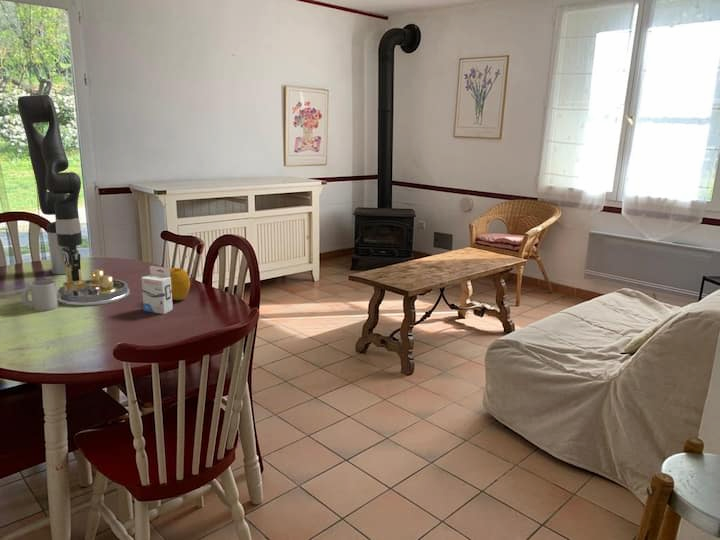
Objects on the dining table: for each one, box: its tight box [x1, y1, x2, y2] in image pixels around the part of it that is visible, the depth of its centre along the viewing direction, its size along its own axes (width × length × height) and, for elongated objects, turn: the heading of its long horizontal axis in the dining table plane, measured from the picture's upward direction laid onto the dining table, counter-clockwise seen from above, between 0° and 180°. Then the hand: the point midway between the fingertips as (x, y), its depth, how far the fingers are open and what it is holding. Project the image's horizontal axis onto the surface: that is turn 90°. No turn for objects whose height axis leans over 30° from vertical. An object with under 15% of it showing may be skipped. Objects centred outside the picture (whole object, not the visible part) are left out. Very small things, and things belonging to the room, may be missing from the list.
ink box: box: [140, 265, 174, 315], centre depth 183 cm, size 8×5×15 cm, turn 73°
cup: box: [21, 279, 59, 312], centre depth 182 cm, size 7×10×9 cm
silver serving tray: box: [57, 269, 131, 307], centre depth 197 cm, size 24×24×8 cm
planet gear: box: [62, 264, 86, 291], centre depth 192 cm, size 7×7×8 cm
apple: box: [169, 267, 191, 301], centre depth 196 cm, size 10×10×12 cm
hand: (73, 278), depth 193 cm, fingers closed on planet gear, 4 cm apart
